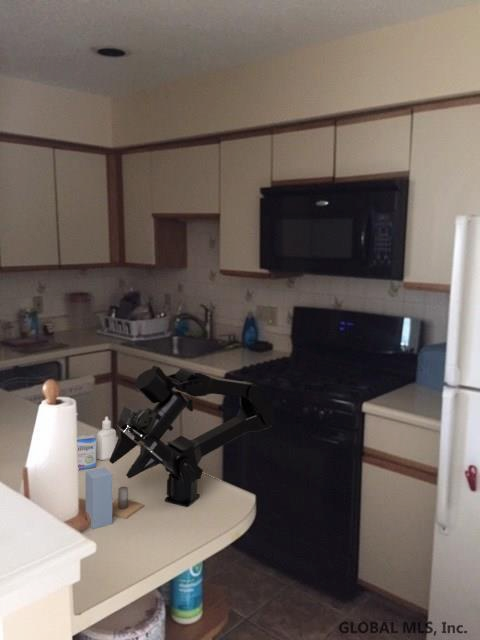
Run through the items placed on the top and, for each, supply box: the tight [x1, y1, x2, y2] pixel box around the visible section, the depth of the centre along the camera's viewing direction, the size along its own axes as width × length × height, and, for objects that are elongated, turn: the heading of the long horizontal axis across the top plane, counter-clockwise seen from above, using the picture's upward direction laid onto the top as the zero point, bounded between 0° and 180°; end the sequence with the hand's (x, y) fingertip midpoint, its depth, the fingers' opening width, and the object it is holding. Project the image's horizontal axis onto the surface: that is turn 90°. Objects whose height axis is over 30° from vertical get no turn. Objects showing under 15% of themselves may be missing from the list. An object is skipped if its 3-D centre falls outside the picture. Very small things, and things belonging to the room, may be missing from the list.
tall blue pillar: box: [84, 467, 113, 530], centre depth 125 cm, size 4×4×12 cm
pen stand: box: [112, 486, 145, 520], centre depth 132 cm, size 7×7×5 cm
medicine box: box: [76, 432, 97, 471], centre depth 154 cm, size 8×4×9 cm, turn 117°
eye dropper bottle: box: [96, 416, 117, 461], centre depth 161 cm, size 4×6×12 cm
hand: (118, 469), depth 127 cm, fingers open, 9 cm apart
